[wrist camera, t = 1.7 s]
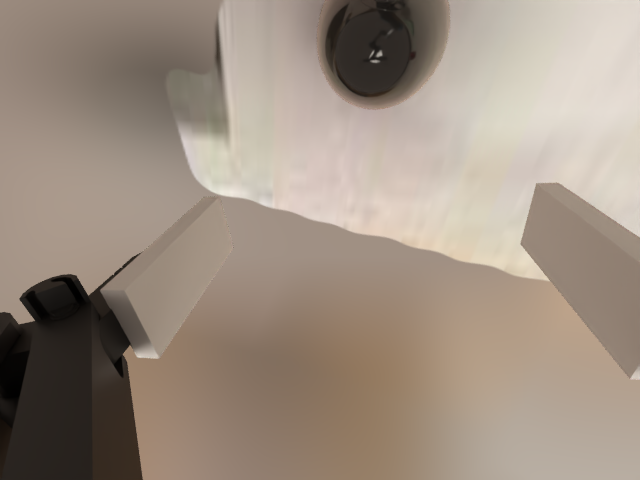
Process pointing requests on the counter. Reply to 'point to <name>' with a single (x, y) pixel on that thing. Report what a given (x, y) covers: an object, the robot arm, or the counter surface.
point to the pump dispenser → (381, 48)
